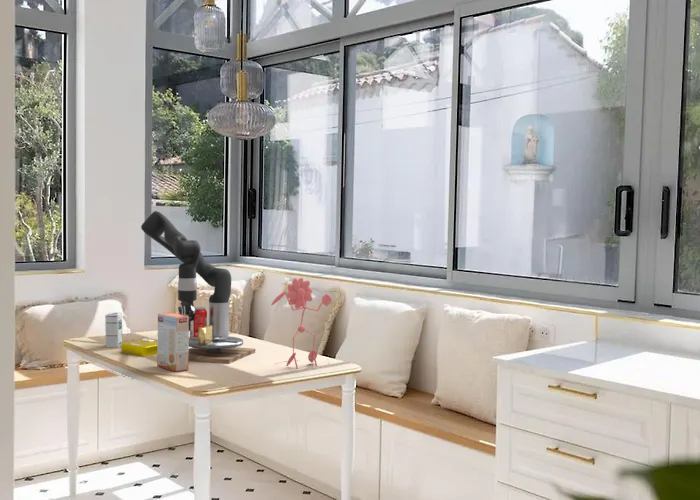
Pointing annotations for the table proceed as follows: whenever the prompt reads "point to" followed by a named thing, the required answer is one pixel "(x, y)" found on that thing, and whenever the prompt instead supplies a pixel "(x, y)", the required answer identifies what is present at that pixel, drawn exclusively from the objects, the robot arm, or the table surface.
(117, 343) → the syrup box
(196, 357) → the winch base
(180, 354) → the cracker box
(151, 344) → the element tile
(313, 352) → the figurine
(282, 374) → the table surface
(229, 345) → the handwheel
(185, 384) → the table surface
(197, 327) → the soda can
